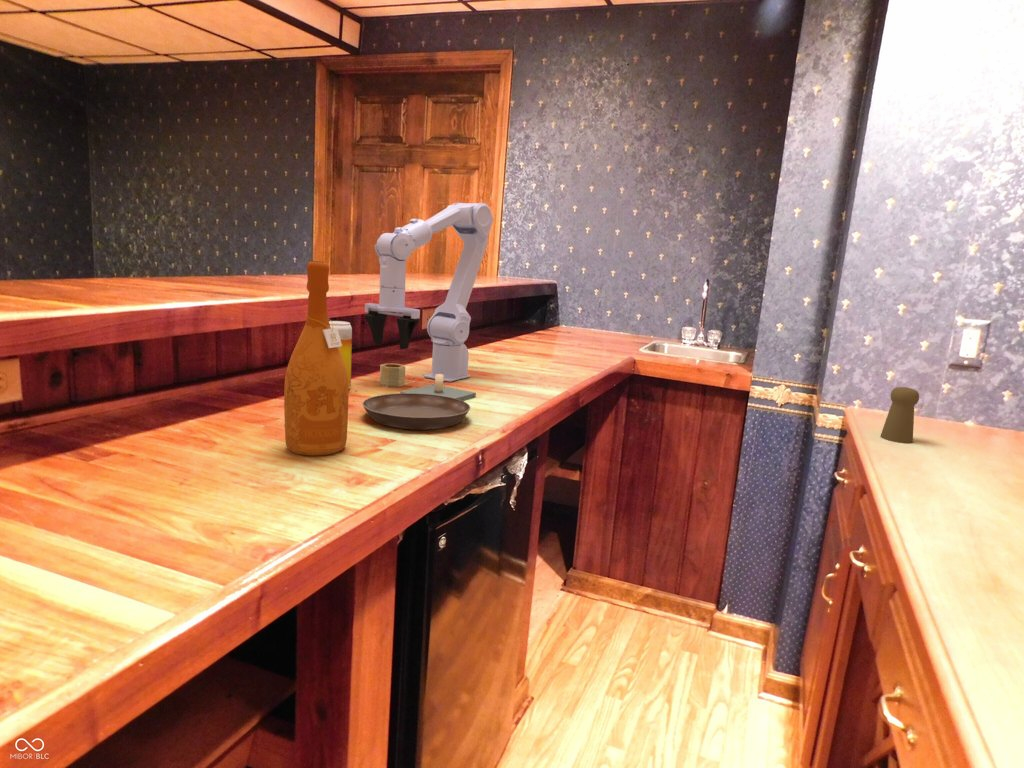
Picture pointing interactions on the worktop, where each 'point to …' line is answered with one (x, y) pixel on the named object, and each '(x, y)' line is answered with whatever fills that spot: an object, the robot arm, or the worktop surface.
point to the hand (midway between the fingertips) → (390, 346)
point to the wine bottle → (316, 378)
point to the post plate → (442, 390)
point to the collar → (392, 375)
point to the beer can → (345, 344)
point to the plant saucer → (416, 410)
